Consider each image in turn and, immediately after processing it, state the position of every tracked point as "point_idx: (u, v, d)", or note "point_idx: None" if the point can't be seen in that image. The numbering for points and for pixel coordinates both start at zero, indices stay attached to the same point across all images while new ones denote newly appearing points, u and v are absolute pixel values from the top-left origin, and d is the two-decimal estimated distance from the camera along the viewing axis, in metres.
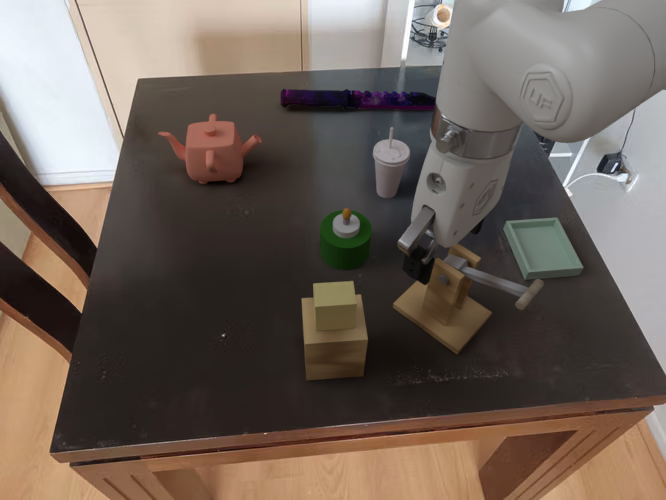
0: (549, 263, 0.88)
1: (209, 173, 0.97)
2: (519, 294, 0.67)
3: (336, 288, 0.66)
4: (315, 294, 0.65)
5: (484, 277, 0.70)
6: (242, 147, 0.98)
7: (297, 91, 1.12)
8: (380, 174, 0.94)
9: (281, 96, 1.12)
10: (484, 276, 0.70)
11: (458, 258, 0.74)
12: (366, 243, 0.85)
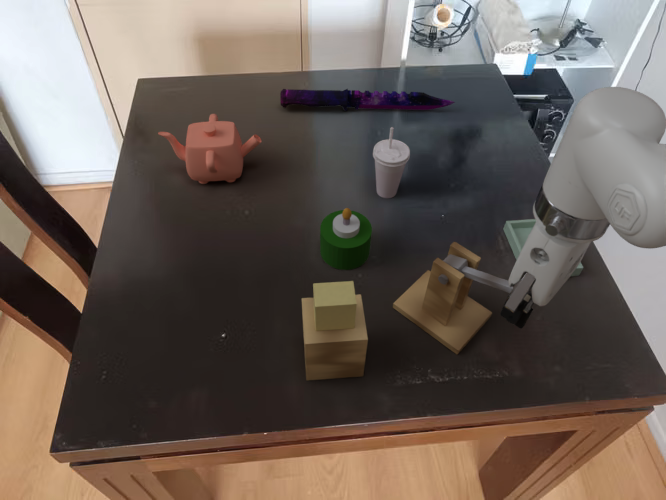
0: None
1: (209, 173, 0.97)
2: None
3: (336, 288, 0.66)
4: (315, 294, 0.65)
5: (484, 277, 0.70)
6: (242, 147, 0.98)
7: (297, 91, 1.12)
8: (380, 174, 0.94)
9: (281, 96, 1.12)
10: (484, 276, 0.70)
11: (458, 258, 0.74)
12: (366, 243, 0.85)
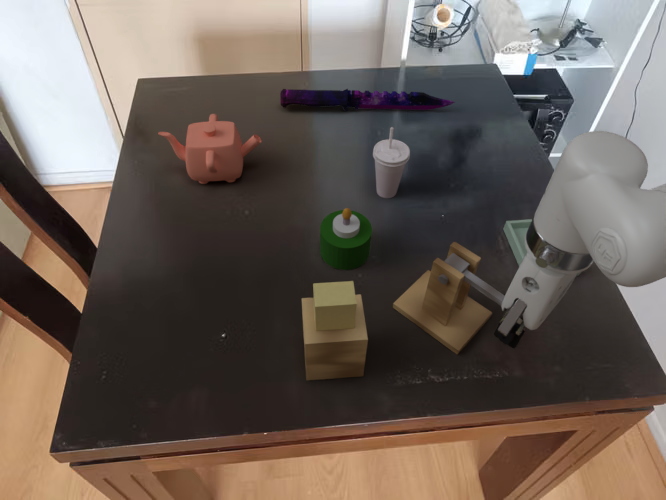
0: None
1: (209, 173, 0.97)
2: None
3: (336, 288, 0.66)
4: (315, 294, 0.65)
5: (484, 287, 0.71)
6: (242, 147, 0.98)
7: (297, 91, 1.12)
8: (380, 174, 0.94)
9: (281, 96, 1.12)
10: (484, 286, 0.72)
11: (461, 260, 0.73)
12: (366, 243, 0.85)
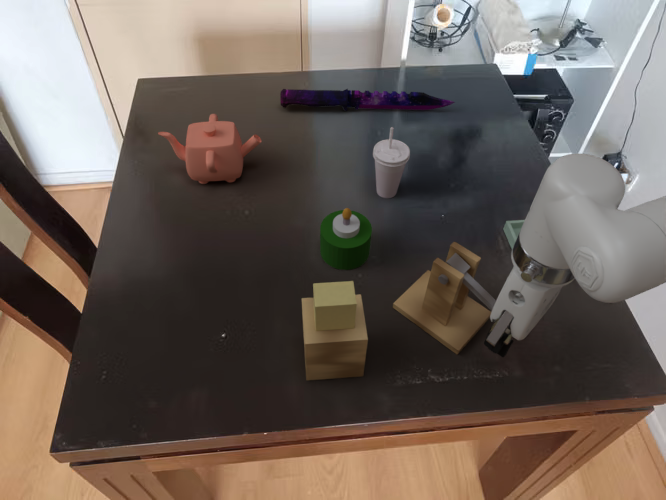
0: None
1: (209, 173, 0.97)
2: None
3: (336, 288, 0.66)
4: (315, 294, 0.65)
5: (481, 293, 0.73)
6: (242, 147, 0.98)
7: (297, 91, 1.12)
8: (380, 174, 0.94)
9: (281, 96, 1.12)
10: (481, 292, 0.73)
11: (463, 262, 0.73)
12: (366, 243, 0.85)
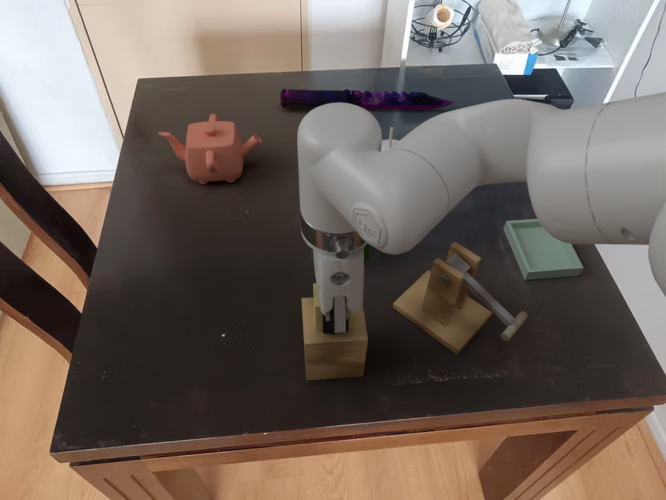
0: (549, 263, 0.88)
1: (209, 173, 0.97)
2: (505, 322, 0.72)
3: None
4: (315, 294, 0.65)
5: (481, 293, 0.73)
6: (242, 147, 0.98)
7: (297, 91, 1.12)
8: None
9: (281, 96, 1.12)
10: (481, 292, 0.73)
11: (463, 262, 0.73)
12: None
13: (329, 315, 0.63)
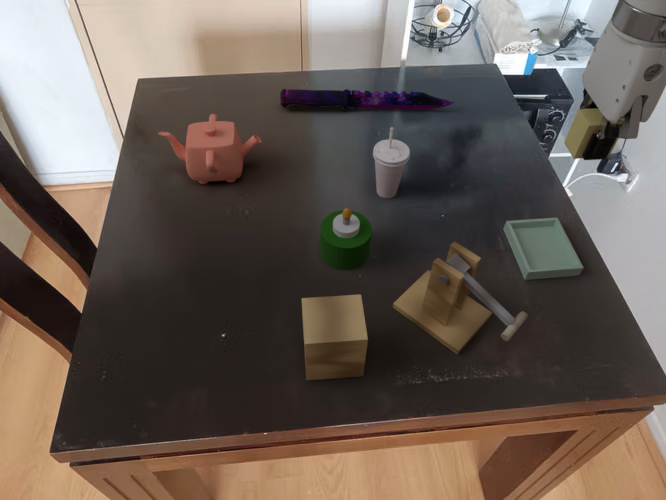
0: (549, 263, 0.88)
1: (209, 173, 0.97)
2: (505, 322, 0.72)
3: None
4: (584, 116, 0.69)
5: (481, 293, 0.73)
6: (242, 147, 0.98)
7: (297, 91, 1.12)
8: (380, 174, 0.94)
9: (281, 96, 1.12)
10: (481, 292, 0.73)
11: (463, 262, 0.73)
12: (366, 243, 0.85)
13: (606, 130, 0.67)
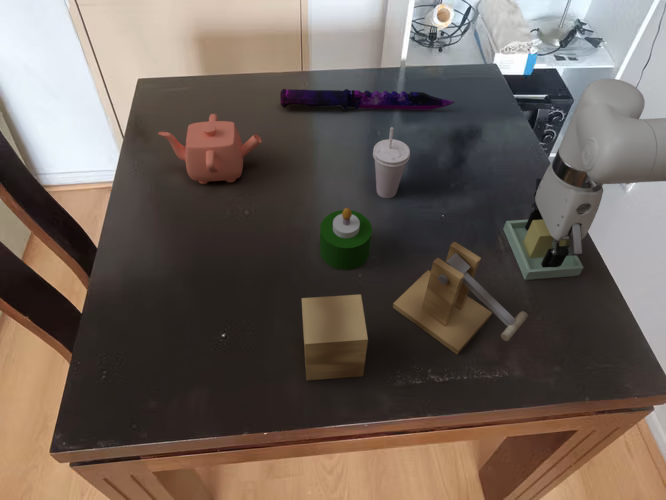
0: None
1: (209, 173, 0.97)
2: (505, 322, 0.72)
3: None
4: (537, 227, 0.86)
5: (481, 293, 0.73)
6: (242, 147, 0.98)
7: (297, 91, 1.12)
8: (380, 174, 0.94)
9: (281, 96, 1.12)
10: (481, 292, 0.73)
11: (463, 262, 0.73)
12: (366, 243, 0.85)
13: (559, 249, 0.82)
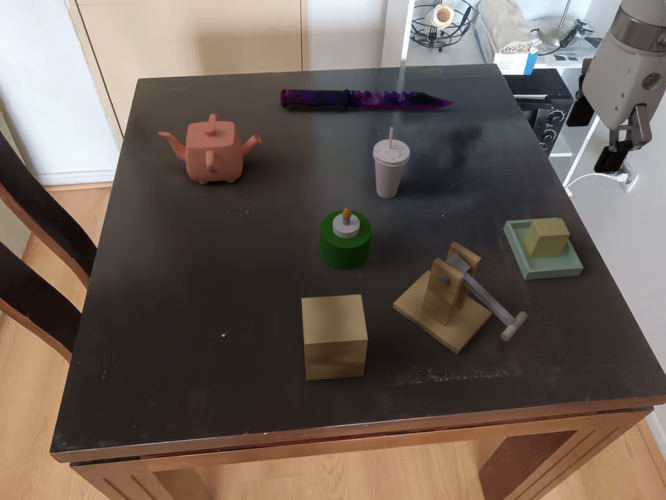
0: (549, 263, 0.88)
1: (209, 173, 0.97)
2: (505, 322, 0.72)
3: (551, 223, 0.86)
4: (537, 227, 0.86)
5: (481, 293, 0.73)
6: (242, 147, 0.98)
7: (297, 91, 1.12)
8: (380, 174, 0.94)
9: (281, 96, 1.12)
10: (481, 292, 0.73)
11: (463, 262, 0.73)
12: (366, 243, 0.85)
13: (619, 143, 0.65)
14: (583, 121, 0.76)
